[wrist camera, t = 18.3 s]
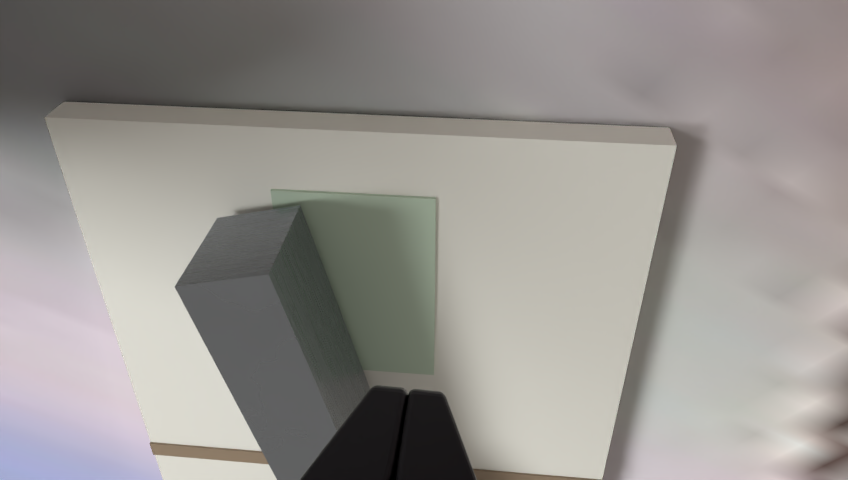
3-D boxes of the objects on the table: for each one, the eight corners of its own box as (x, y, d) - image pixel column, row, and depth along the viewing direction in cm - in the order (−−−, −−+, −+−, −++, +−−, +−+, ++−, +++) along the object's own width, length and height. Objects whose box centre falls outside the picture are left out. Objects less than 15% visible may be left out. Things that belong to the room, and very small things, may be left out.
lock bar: (424, 496, 26) (411, 606, 22) (340, 501, 26) (315, 608, 23) (316, 199, 19) (275, 294, 16) (206, 215, 20) (145, 310, 16)
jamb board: (220, 609, 34) (212, 633, 33) (64, 101, 19) (41, 118, 18) (558, 644, 33) (560, 670, 32) (669, 127, 18) (677, 147, 17)
